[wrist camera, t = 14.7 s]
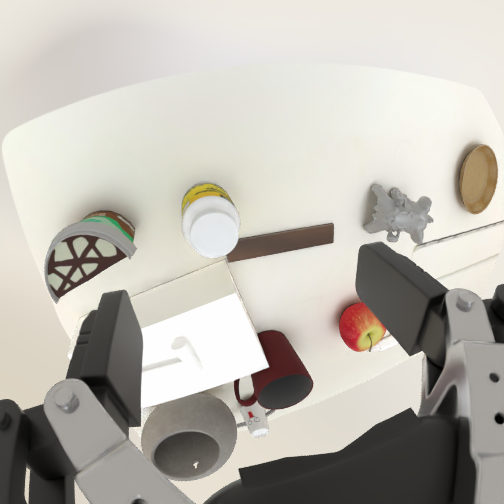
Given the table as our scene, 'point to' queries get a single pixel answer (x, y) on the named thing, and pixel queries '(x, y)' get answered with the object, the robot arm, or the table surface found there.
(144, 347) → the tissue box
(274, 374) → the mug
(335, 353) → the table surface
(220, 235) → the pill bottle
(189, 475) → the planter
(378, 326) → the apple
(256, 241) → the plank
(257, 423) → the toy figure
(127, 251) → the food container
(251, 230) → the table surface
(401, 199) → the elephant statuette
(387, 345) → the marker
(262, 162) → the table surface
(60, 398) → the robot arm
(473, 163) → the plant saucer
